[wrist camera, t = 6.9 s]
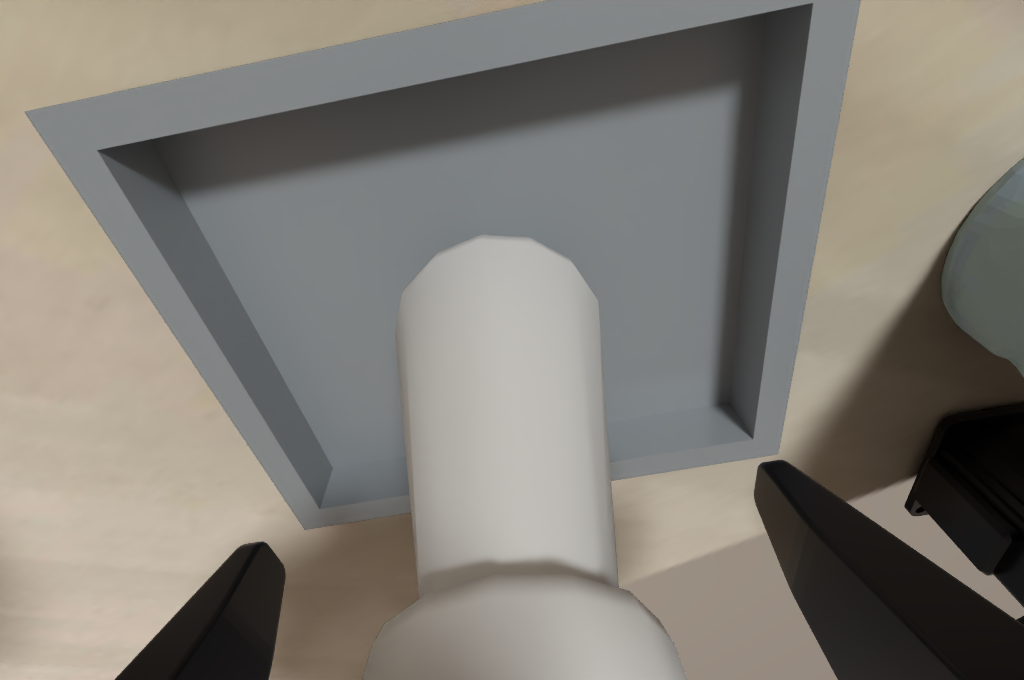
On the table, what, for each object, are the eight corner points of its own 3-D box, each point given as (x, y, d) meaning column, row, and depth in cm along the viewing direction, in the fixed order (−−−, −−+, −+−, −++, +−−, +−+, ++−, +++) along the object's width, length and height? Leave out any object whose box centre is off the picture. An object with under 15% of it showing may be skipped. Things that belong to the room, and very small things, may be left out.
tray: (792, -52, 12) (872, -68, 10) (741, 400, 20) (778, 454, 18) (110, 93, 13) (23, 111, 11) (325, 469, 21) (304, 529, 19)
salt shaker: (502, 392, 18) (532, 944, 7) (371, 303, 16) (134, 916, 5) (622, 286, 16) (913, 848, 5) (490, 165, 14) (522, 725, 3)
